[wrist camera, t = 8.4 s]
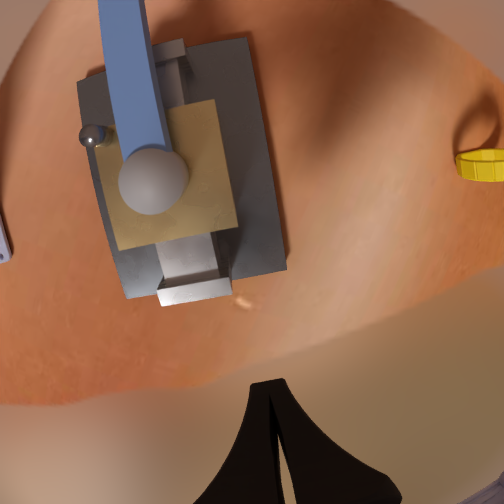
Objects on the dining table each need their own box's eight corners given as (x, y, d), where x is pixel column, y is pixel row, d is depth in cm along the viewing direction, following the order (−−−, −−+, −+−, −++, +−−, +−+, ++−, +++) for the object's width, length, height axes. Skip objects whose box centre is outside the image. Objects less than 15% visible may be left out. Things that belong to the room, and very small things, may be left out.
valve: (130, 292, 21) (96, 351, 14) (82, 84, 16) (24, 62, 10) (284, 264, 21) (309, 317, 15) (245, 42, 17) (255, -9, 10)
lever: (194, 198, 14) (189, 205, 12) (140, 211, 14) (127, 221, 12) (152, -10, 10) (143, -28, 8) (102, 8, 10) (87, -8, 8)
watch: (485, 138, 20) (538, 143, 14) (490, 170, 21) (541, 180, 15) (441, 148, 19) (499, 153, 14) (446, 184, 20) (503, 197, 15)
